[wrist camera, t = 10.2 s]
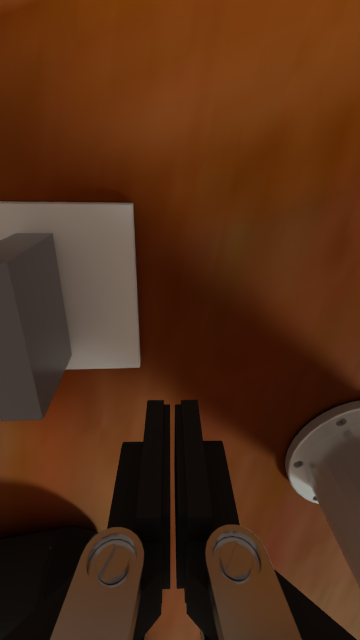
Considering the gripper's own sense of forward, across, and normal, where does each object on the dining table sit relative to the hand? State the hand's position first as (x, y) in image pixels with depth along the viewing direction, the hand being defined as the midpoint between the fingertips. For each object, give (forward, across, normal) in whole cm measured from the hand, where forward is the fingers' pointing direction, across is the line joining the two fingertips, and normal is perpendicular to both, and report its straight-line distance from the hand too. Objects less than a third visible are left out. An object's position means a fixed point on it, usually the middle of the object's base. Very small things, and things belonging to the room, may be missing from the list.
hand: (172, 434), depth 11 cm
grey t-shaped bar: (+10, +11, -1) cm, 15 cm away
